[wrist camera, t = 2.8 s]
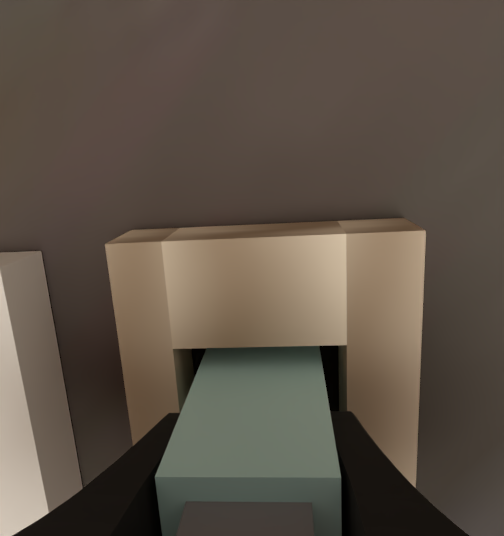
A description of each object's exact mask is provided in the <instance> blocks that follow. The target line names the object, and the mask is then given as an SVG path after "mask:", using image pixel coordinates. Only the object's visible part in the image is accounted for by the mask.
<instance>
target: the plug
mask: <svg viewBox="0 0 504 536" xmlns="http://www.w3.org/2000/svg"><path fill="white" fill-rule="evenodd" d="M155 483H156V491H157V498H158V506H159V514H160V522H161V530H162V536H342V514H341V473H340V467H339V461H338V455H337V450H336V444H335V438H334V432H333V426H332V420H331V414H330V408H329V402H328V396H327V390H326V384H325V378H324V372H323V366H322V360H321V354H320V348H319V346H286V347H239V348H206V351H205V353H204V356H203V358H202V361H201V363H200V366H199V368H198V371H197V373H196V376H195V378H194V381H193V383H192V386H191V388H190V391H189V393H188V396H187V398H186V400H185V403H184V405H183V408H182V410H181V413H180V415H179V418H178V420H177V423H176V425H175V428H174V430H173V433H172V435H171V438H170V440H169V443H168V445H167V448H166V450H165V453H164V455H163V458H162V460H161V463H160V465H159V468H158V470H157V473H156V475H155Z"/></svg>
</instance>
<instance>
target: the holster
mask: <svg viewBox="0 0 504 536" xmlns="http://www.w3.org/2000/svg"><path fill="white" fill-rule="evenodd" d="M425 241H426V230H424V229H422V228H421V227H419V226H417V225H416V224H414V223H412V222H410V221H409V220H407V219H405V218H389V219H367V220H344V221H321V222H299V223H276V224H254V225H231V226H209V227H186V228H163V229H141V230H131V231H129V232H127V233H125V234H123V235H121V236H119V237H117V238H115V239H113V240H112V241H110V242H108V243H106V244H105V249H106V256H107V263H108V270H109V277H110V284H111V292H112V299H113V306H114V313H115V320H116V327H117V335H118V342H119V349H120V356H121V363H122V371H123V378H124V385H125V392H126V399H127V406H128V414H129V421H130V428H131V435H132V442H133V446H134V445H135V444H136V443H137V442H138V441H139V440H140V439H141V438H142V437H143V436H144V435H146V434H147V433H148V432H149V431H150V430H151V429H152V428H153V427H154V426H155V425H156V424H157V423H158V422H159V421H160V420H161V419H163V418H164V417H165V416H166V415H167V414H168V413H181V410H182V408H183V405H184V403H185V400H186V398H187V396H188V393H189V391H190V388H191V386H192V383H193V381H194V368H193V358H192V348H239V347H286V346H333V345H338V370H339V411H351V412H352V413H353V414H354V415H355V416H356V417H357V419H358V420H359V422H360V423H361V424H362V426H363V427H364V429H365V430H366V431H367V433H368V434H369V435H370V437H371V438H372V439H373V440H374V442H375V443H376V444H377V446H378V447H379V448H380V449H381V450H382V452H383V453H384V454H385V455H386V456H387V458H388V459H389V460H390V461H391V462H392V463H393V464H394V466H395V467H396V468H397V469H398V470H399V471H400V472H401V473H402V475H403V476H404V477H405V478H406V479H407V480H408V481H409V482H410V483H411V484H412V485H413V486H414V487H415V488H416V468H417V443H418V418H419V392H420V367H421V342H422V317H423V291H424V266H425Z"/></svg>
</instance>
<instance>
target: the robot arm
mask: <svg viewBox="0 0 504 536" xmlns="http://www.w3.org/2000/svg"><path fill="white" fill-rule="evenodd" d="M330 414H331V420H332V426H333V432H334V438H335V444H336V450H337V455H338V461H339V467H340V473H341V514H342V536H469V535H468V534H466V533H465V532H464V531H463V530H461V529H460V528H459V527H458V526H456V525H455V524H454V523H453V522H452V521H451V520H449V519H448V518H447V517H446V516H445V515H444V514H442V513H441V512H440V511H439V510H438V509H437V508H435V507H434V506H433V505H432V504H431V503H430V502H429V501H428V500H427V499H426V498H425V497H424V496H423V495H422V494H421V493H420V492H419V491H418V490H417V489H416V488H415V487H414V486H413V485H412V484H411V483H410V482H409V481H408V480H407V479H406V478H405V477H404V476H403V475H402V473H401V472H400V471H399V470H398V469H397V468H396V467H395V466H394V464H393V463H392V462H391V461H390V460H389V459H388V458H387V456H386V455H385V454H384V453H383V452H382V450H381V449H380V448H379V447H378V446H377V444H376V443H375V442H374V440H373V439H372V438H371V437H370V435H369V434H368V433H367V431H366V430H365V429H364V427H363V426H362V424H361V423H360V422H359V420H358V419H357V417H356V416H355V415H354V414H353V413H352V412H351V411H330ZM179 415H180V413H168V414H167V415H166V416H165V417H164V418H163V419H161V420H160V421H159V422H158V423H157V424H156V425H155V426H154V427H153V428H152V429H151V430H150V431H149V432H148V433H147V434H146V435H144V436H143V437H142V438H141V439H140V440H139V441H138V442H137V443H136V444H135V445H134V446H133V447H131V448H130V449H129V450H128V451H127V452H126V453H125V454H124V455H123V456H122V457H120V458H119V459H118V460H117V461H116V462H115V463H113V464H112V465H111V466H110V467H109V468H107V469H106V470H105V471H104V472H102V473H101V474H100V475H99V476H98V477H96V478H95V479H94V480H93V481H92V482H90V483H89V484H88V485H87V486H85V487H84V488H83V489H82V490H80V491H79V492H78V493H76V494H75V495H74V496H72V497H71V498H69V499H68V500H67V501H65V502H64V503H62V504H61V505H60V506H58V507H57V508H55V509H54V510H52V511H51V512H49V513H48V514H46V515H45V516H43V517H42V518H40V519H39V520H37V521H36V522H34V523H32V524H31V525H29V526H27V527H26V528H24V529H22V530H21V531H19V532H17V533H16V534H14V535H12V536H162V530H161V522H160V514H159V506H158V498H157V491H156V483H155V475H156V473H157V470H158V468H159V465H160V463H161V460H162V458H163V455H164V453H165V450H166V448H167V445H168V443H169V440H170V438H171V435H172V433H173V430H174V428H175V425H176V423H177V420H178V418H179Z"/></svg>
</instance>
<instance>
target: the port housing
mask: <svg viewBox="0 0 504 536" xmlns="http://www.w3.org/2000/svg"><path fill="white" fill-rule="evenodd" d="M82 489H83V486H82V481H81V475H80V469H79V463H78V458H77V452H76V446H75V441H74V435H73V429H72V424H71V418H70V412H69V407H68V401H67V395H66V389H65V384H64V378H63V372H62V367H61V361H60V355H59V350H58V344H57V338H56V332H55V327H54V321H53V315H52V310H51V304H50V298H49V293H48V287H47V281H46V276H45V270H44V264H43V258H42V253H41V251H24V252H0V536H12V535H14V534H16V533H17V532H19V531H21V530H22V529H24V528H26V527H27V526H29V525H31V524H32V523H34V522H36V521H37V520H39V519H40V518H42V517H43V516H45V515H46V514H48V513H49V512H51V511H52V510H54V509H55V508H57V507H58V506H60V505H61V504H62V503H64V502H65V501H67V500H68V499H69V498H71V497H72V496H74V495H75V494H76V493H78V492H79V491H80V490H82Z"/></svg>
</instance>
